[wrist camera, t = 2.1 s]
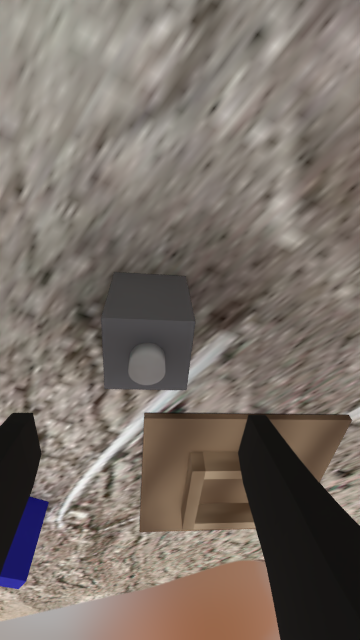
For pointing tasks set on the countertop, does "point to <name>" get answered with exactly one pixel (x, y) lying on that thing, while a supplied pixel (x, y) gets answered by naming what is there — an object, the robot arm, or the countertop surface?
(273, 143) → the countertop surface
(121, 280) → the connector plug
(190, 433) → the end holder
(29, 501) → the cable clip
